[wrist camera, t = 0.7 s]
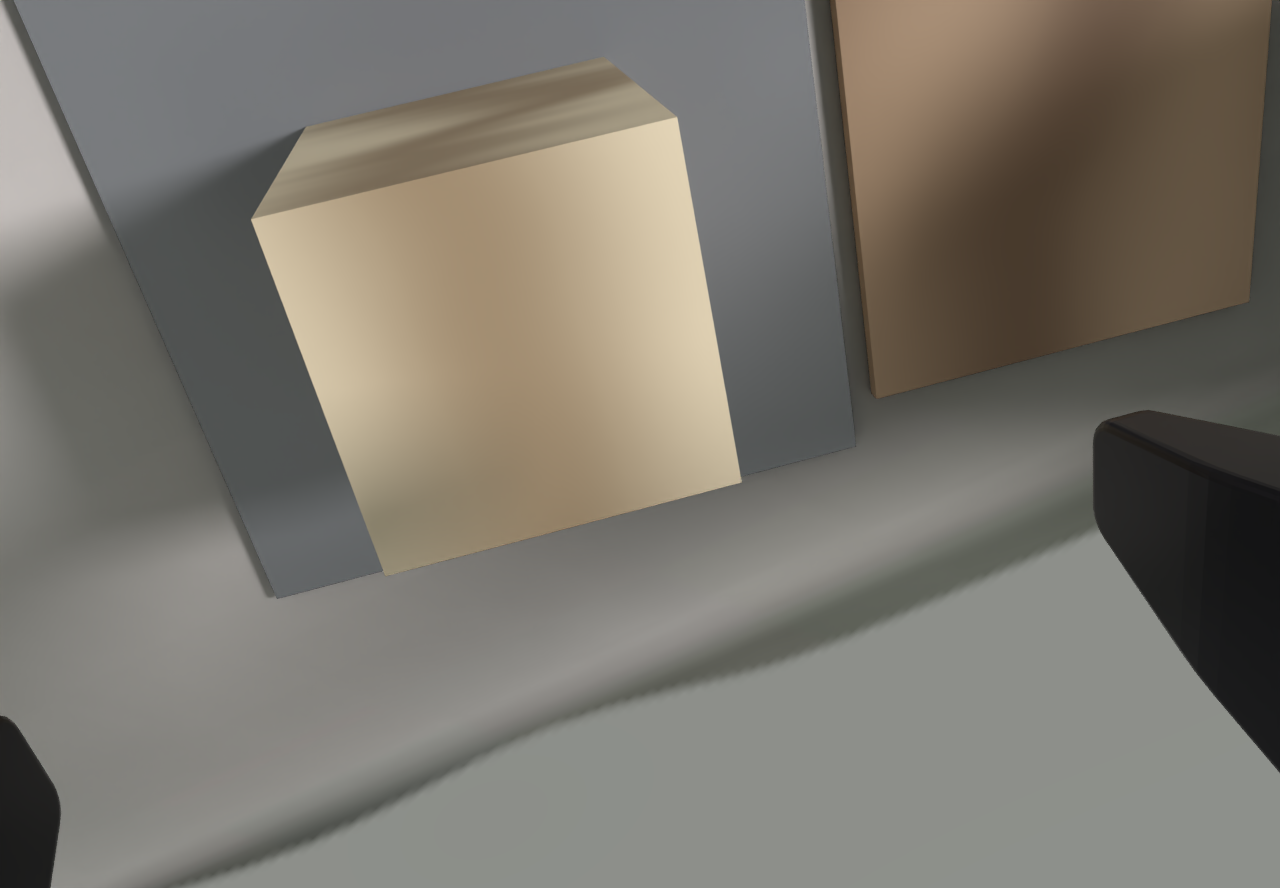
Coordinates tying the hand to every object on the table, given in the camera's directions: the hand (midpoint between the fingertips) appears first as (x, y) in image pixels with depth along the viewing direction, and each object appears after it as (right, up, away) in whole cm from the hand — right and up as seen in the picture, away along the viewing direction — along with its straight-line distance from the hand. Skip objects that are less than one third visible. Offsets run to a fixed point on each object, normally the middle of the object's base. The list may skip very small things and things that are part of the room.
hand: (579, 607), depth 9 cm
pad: (+8, +7, +11) cm, 16 cm away
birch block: (-2, +5, +10) cm, 11 cm away
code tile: (-2, +5, +10) cm, 12 cm away
